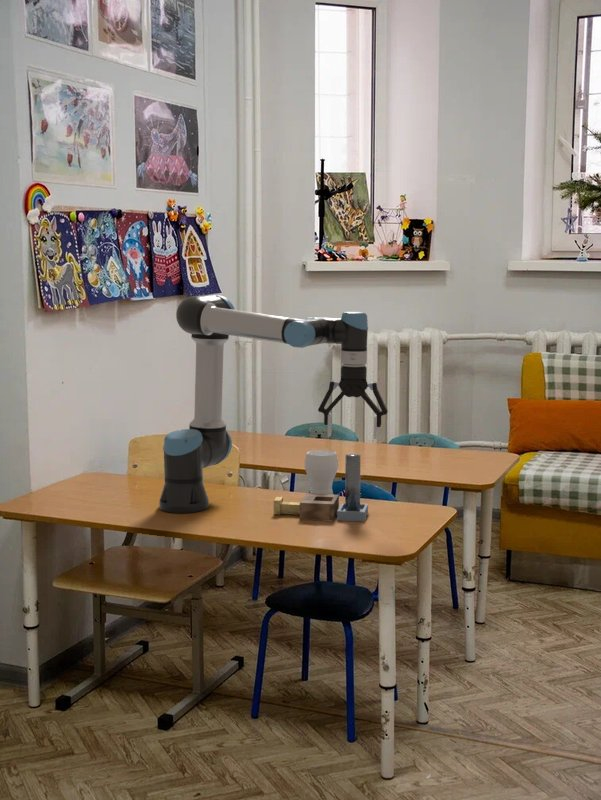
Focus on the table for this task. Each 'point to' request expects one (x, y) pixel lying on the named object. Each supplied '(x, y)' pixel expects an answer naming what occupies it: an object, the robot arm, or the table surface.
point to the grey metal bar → (352, 482)
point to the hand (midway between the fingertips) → (352, 437)
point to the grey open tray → (352, 513)
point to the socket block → (319, 507)
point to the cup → (321, 470)
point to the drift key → (286, 507)
